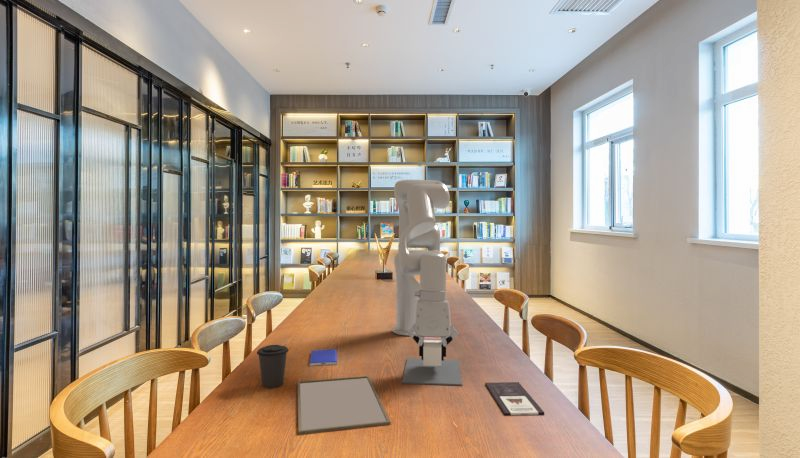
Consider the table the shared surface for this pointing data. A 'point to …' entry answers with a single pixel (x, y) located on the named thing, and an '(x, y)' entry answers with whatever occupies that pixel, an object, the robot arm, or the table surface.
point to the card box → (432, 351)
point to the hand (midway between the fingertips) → (432, 358)
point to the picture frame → (339, 405)
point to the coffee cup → (272, 365)
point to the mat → (432, 373)
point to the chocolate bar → (513, 399)
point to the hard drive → (323, 357)
